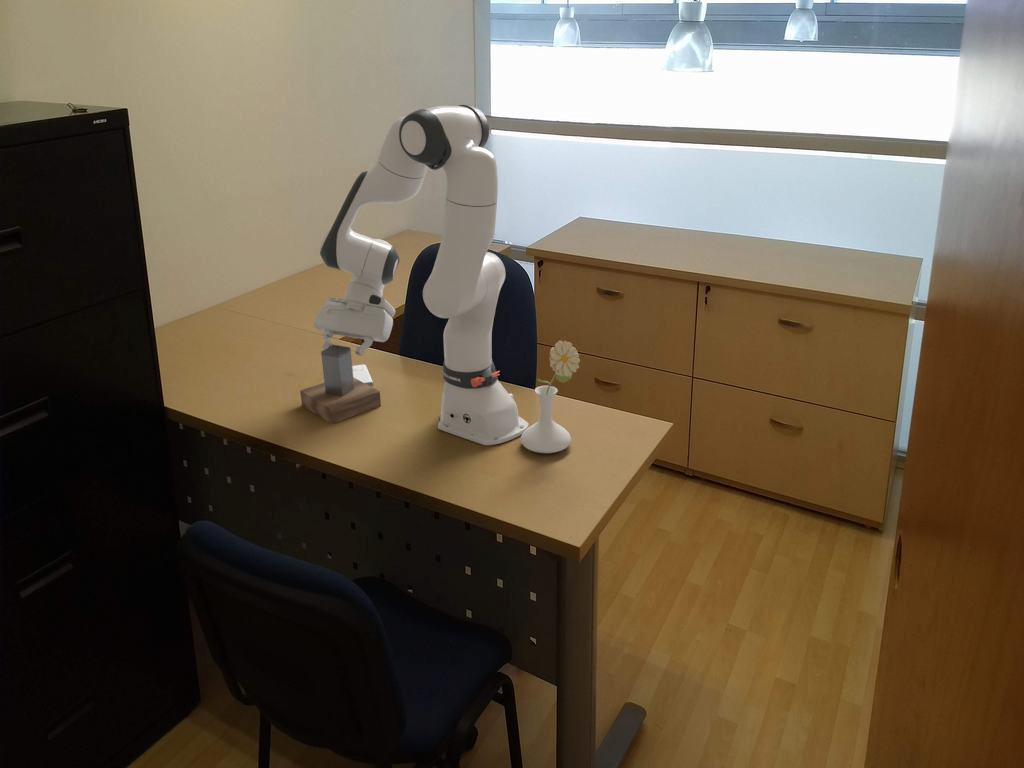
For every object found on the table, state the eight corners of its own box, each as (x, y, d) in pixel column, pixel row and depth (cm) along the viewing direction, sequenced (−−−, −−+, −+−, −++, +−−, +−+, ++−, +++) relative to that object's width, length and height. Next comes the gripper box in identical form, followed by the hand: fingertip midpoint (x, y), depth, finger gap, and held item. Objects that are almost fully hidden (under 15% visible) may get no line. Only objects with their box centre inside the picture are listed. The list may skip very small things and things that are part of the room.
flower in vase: (529, 461, 187) (529, 355, 177) (514, 437, 197) (513, 336, 187) (585, 452, 191) (588, 348, 180) (567, 429, 200) (570, 329, 190)
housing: (354, 388, 213) (350, 347, 208) (342, 396, 209) (338, 354, 204) (337, 385, 215) (333, 344, 210) (325, 393, 211) (321, 351, 206)
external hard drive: (342, 391, 222) (335, 373, 233) (373, 387, 224) (366, 369, 235) (341, 385, 221) (335, 367, 232) (373, 381, 224) (365, 363, 234)
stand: (380, 405, 213) (379, 391, 211) (332, 423, 204) (330, 408, 203) (349, 388, 222) (348, 374, 221) (301, 405, 214) (300, 390, 212)
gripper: (320, 290, 215) (301, 340, 211) (390, 300, 207) (372, 352, 203) (332, 302, 220) (313, 351, 216) (401, 312, 213) (383, 362, 209)
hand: (342, 351), depth 210 cm, fingers open, 8 cm apart
